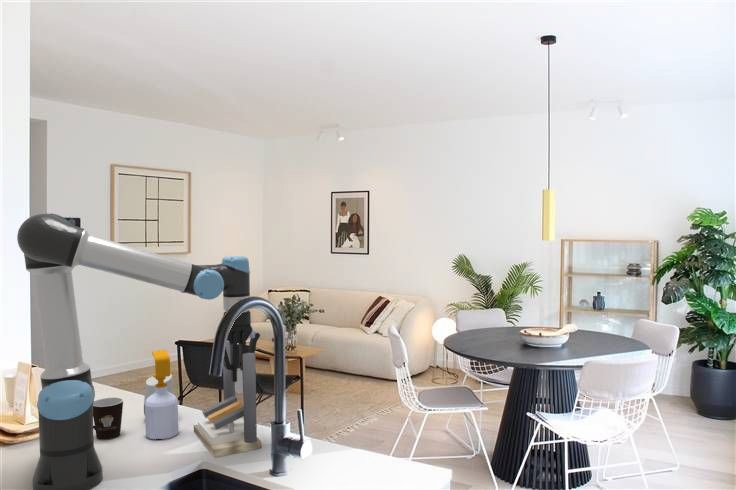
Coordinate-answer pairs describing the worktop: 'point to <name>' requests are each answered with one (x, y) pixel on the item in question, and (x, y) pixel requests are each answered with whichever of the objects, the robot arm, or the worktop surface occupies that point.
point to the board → (226, 445)
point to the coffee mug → (107, 417)
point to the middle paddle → (225, 411)
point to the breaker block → (222, 431)
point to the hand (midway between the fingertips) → (238, 392)
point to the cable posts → (244, 393)
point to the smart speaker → (151, 387)
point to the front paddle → (228, 418)
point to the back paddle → (219, 406)
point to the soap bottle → (161, 402)
